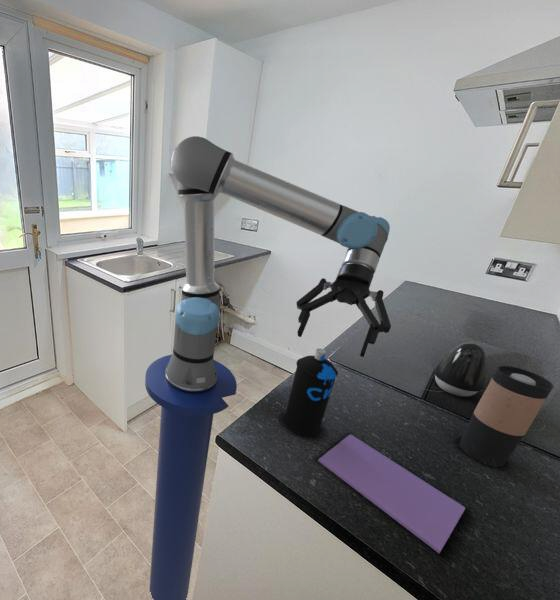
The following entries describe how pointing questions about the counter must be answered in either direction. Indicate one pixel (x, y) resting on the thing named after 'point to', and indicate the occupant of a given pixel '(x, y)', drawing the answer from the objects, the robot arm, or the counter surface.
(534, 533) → the counter surface
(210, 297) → the robot arm
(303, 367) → the aerosol can
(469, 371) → the black egg-shaped dome
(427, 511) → the towel
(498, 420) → the travel mug
